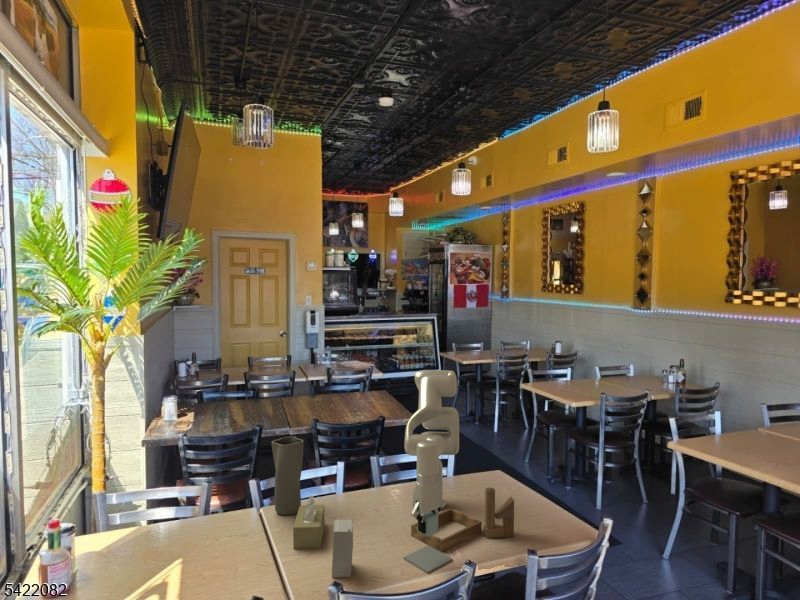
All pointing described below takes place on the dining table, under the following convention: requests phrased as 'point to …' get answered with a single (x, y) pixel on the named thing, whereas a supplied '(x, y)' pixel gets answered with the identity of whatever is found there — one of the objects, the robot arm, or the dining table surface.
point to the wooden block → (498, 516)
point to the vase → (287, 474)
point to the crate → (444, 544)
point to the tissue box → (309, 526)
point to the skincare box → (342, 548)
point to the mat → (427, 559)
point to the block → (431, 523)
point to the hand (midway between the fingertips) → (427, 529)
